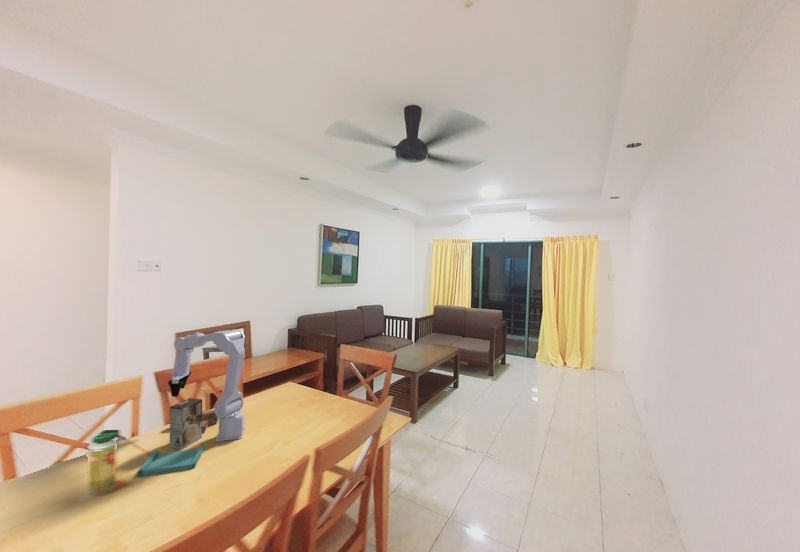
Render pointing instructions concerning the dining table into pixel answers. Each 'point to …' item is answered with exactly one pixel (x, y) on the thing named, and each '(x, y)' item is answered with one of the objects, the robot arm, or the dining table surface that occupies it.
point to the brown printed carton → (208, 419)
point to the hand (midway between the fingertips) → (178, 392)
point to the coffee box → (185, 423)
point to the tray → (171, 461)
